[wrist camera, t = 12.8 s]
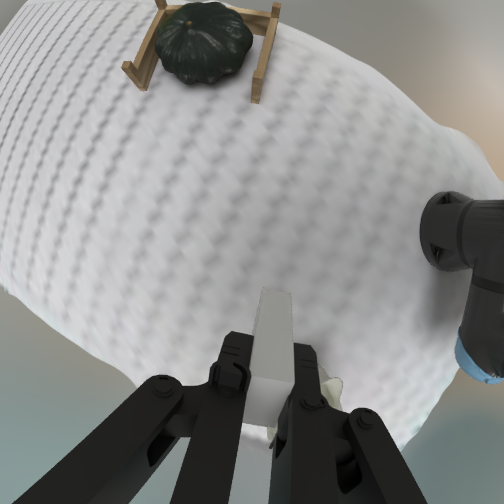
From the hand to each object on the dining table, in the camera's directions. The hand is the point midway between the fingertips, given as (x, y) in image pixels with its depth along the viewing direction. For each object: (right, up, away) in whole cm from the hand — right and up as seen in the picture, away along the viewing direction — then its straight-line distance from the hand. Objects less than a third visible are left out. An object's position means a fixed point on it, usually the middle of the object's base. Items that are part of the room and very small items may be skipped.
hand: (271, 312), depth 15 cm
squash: (-9, +36, +24) cm, 44 cm away
